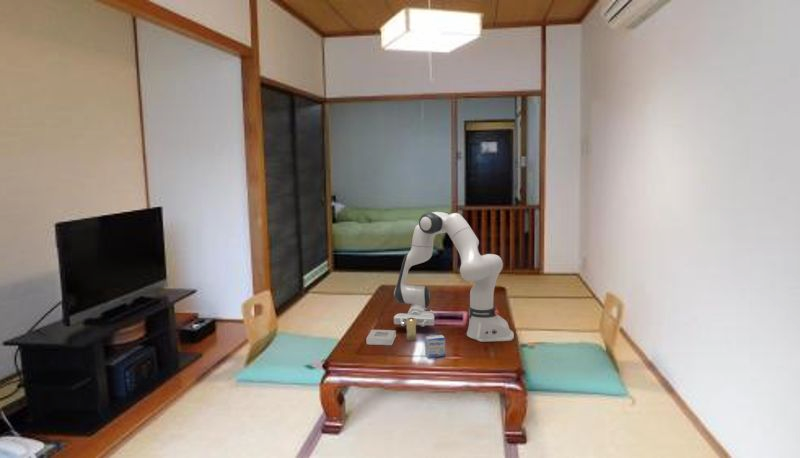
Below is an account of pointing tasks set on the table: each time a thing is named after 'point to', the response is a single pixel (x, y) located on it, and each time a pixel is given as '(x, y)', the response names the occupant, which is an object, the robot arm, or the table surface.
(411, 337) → the brass bushing
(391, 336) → the aluminium jig
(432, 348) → the medicine box
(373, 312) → the table surface
